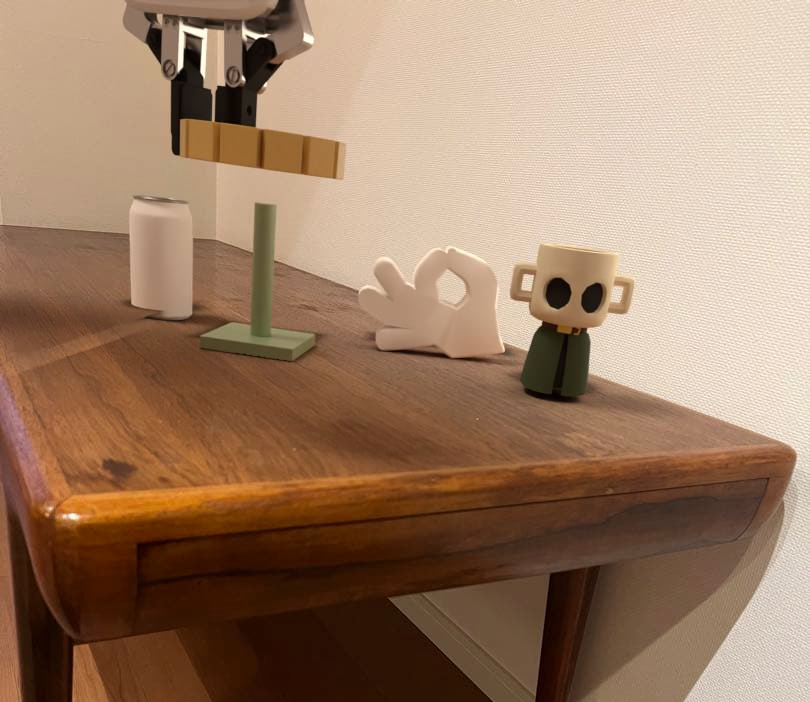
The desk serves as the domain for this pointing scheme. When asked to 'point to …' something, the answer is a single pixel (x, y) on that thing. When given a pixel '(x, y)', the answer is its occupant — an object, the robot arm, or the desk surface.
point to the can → (161, 256)
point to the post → (260, 305)
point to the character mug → (567, 312)
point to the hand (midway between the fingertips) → (212, 157)
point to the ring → (261, 148)
